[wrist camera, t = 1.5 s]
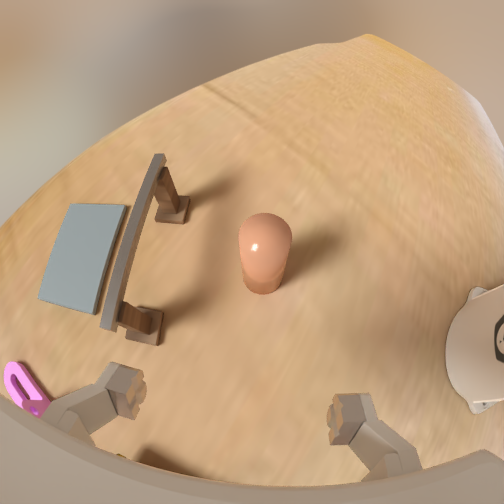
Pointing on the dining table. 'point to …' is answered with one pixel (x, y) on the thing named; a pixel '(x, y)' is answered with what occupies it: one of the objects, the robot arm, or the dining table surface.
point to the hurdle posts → (169, 211)
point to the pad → (81, 256)
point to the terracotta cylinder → (264, 251)
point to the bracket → (37, 397)
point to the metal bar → (130, 245)
